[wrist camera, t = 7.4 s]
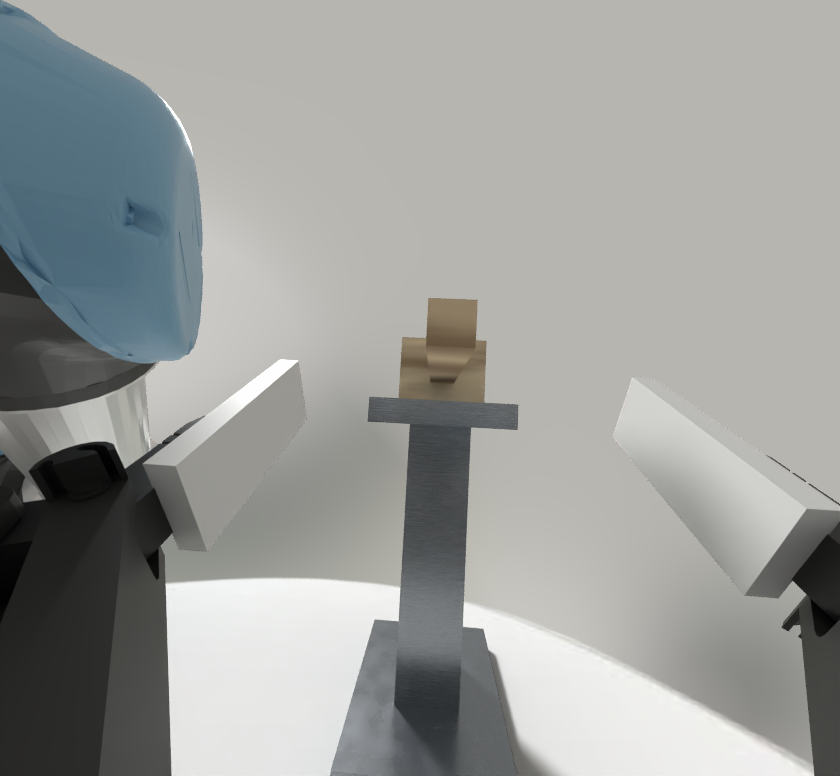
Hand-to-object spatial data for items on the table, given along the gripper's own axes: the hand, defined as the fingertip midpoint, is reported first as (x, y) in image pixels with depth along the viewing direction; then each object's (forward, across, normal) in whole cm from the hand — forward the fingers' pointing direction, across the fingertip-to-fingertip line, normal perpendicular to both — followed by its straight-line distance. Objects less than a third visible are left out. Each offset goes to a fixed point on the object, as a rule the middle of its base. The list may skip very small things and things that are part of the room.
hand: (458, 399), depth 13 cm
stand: (+4, 0, -36) cm, 37 cm away
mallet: (+15, 0, -8) cm, 17 cm away
